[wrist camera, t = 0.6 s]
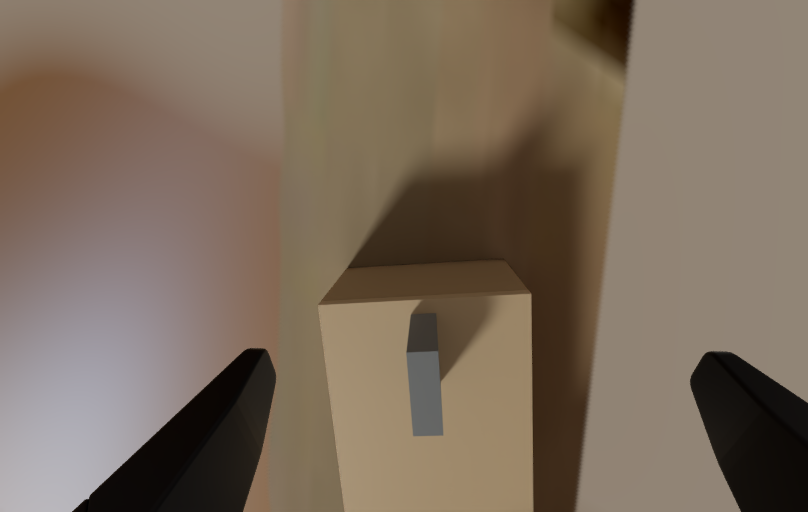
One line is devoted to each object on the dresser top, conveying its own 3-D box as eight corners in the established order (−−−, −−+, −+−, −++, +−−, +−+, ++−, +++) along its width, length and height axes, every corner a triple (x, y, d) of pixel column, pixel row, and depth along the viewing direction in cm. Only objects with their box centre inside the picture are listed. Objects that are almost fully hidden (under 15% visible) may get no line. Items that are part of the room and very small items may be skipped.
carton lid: (530, 533, 22) (556, 627, 18) (351, 535, 23) (332, 625, 18) (528, 289, 19) (558, 328, 15) (321, 301, 20) (289, 340, 15)
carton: (508, 452, 28) (530, 532, 22) (367, 455, 29) (351, 534, 23) (503, 258, 25) (527, 289, 19) (346, 268, 26) (321, 300, 20)
